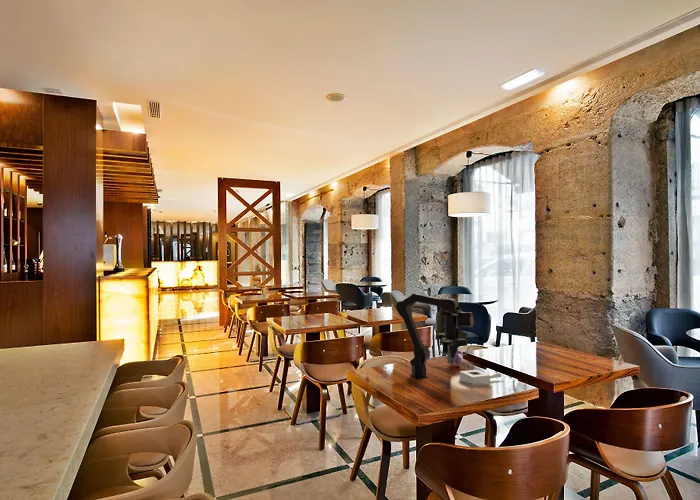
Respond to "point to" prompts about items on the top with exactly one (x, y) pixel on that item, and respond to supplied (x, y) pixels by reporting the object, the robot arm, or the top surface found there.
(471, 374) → the grey holed paddle
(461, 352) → the toy
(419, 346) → the robot arm
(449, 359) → the dark metal cylinder
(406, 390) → the top surface
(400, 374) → the top surface
